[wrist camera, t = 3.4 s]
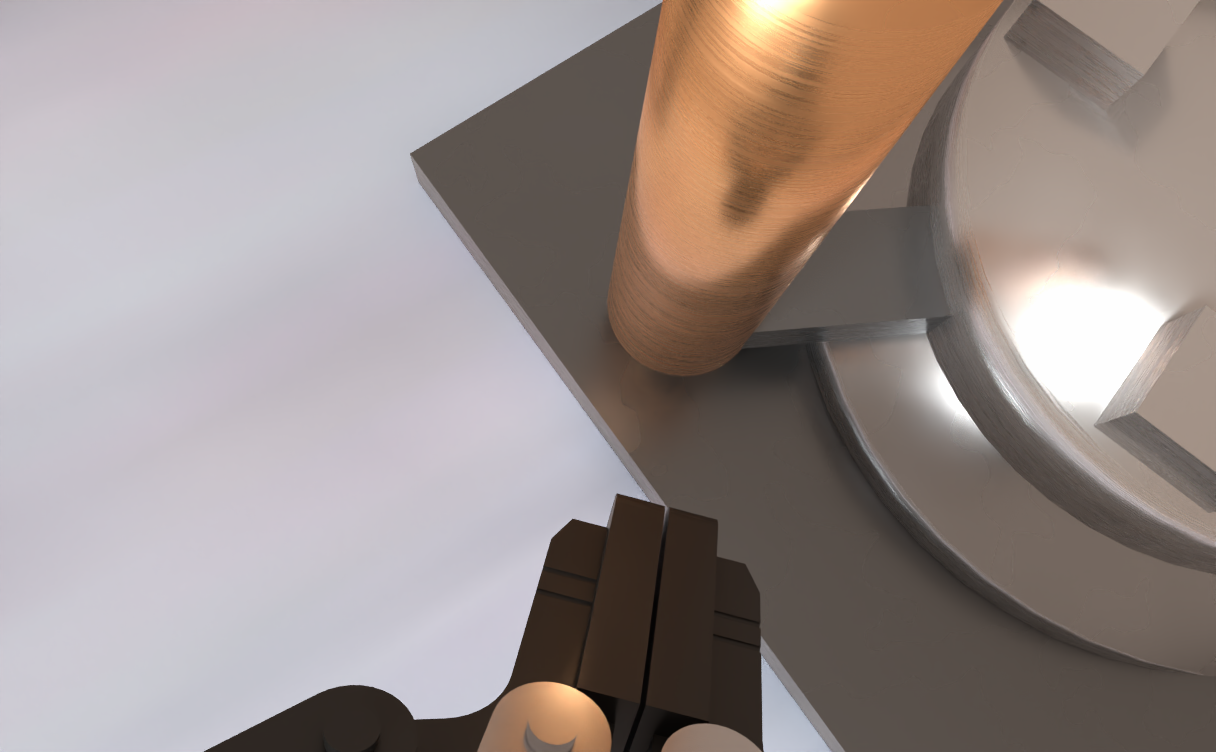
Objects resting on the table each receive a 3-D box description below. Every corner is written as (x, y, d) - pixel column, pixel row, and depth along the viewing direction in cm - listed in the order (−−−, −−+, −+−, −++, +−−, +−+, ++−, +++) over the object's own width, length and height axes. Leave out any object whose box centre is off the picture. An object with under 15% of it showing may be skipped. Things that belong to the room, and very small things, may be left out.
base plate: (418, 181, 23) (400, 121, 20) (1134, -254, 28) (1201, -353, 25) (1107, 1132, 19) (1208, 1227, 16) (1805, 424, 24) (1979, 399, 21)
